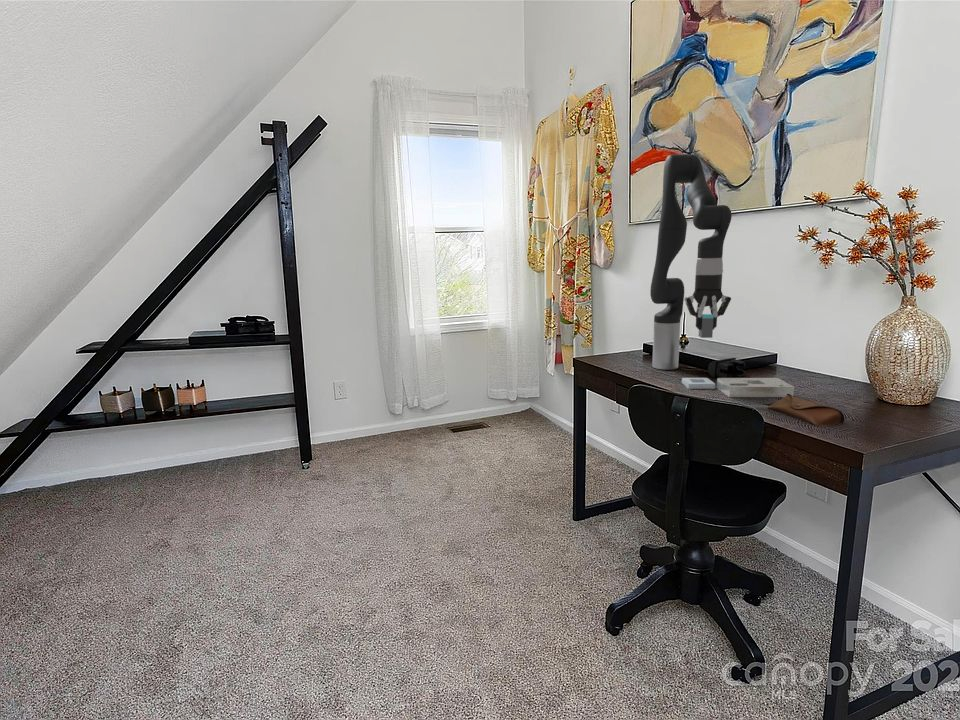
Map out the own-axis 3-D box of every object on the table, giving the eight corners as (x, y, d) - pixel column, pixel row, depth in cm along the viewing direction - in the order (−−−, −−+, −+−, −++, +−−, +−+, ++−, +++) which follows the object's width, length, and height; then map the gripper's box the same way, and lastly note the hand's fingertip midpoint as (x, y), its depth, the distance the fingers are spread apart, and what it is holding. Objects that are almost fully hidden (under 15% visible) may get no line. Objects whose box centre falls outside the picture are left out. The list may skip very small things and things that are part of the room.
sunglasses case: (762, 407, 152) (774, 386, 151) (779, 417, 154) (790, 396, 154) (818, 426, 135) (831, 403, 134) (836, 437, 137) (849, 414, 137)
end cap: (727, 375, 190) (728, 356, 188) (744, 379, 184) (746, 359, 182) (707, 378, 185) (708, 359, 184) (724, 383, 179) (725, 363, 178)
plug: (698, 336, 170) (699, 314, 169) (709, 336, 170) (710, 313, 169) (701, 337, 167) (702, 315, 166) (712, 337, 167) (713, 315, 166)
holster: (681, 385, 177) (681, 377, 177) (706, 385, 177) (707, 377, 176) (688, 391, 170) (688, 383, 169) (714, 391, 169) (715, 383, 168)
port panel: (728, 400, 160) (729, 385, 159) (716, 390, 170) (717, 377, 169) (793, 400, 158) (794, 385, 157) (776, 390, 168) (777, 376, 168)
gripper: (728, 272, 168) (725, 327, 171) (681, 273, 169) (679, 327, 173) (737, 273, 160) (733, 330, 164) (688, 274, 162) (685, 331, 165)
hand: (705, 329), depth 168 cm, fingers closed on plug, 3 cm apart
